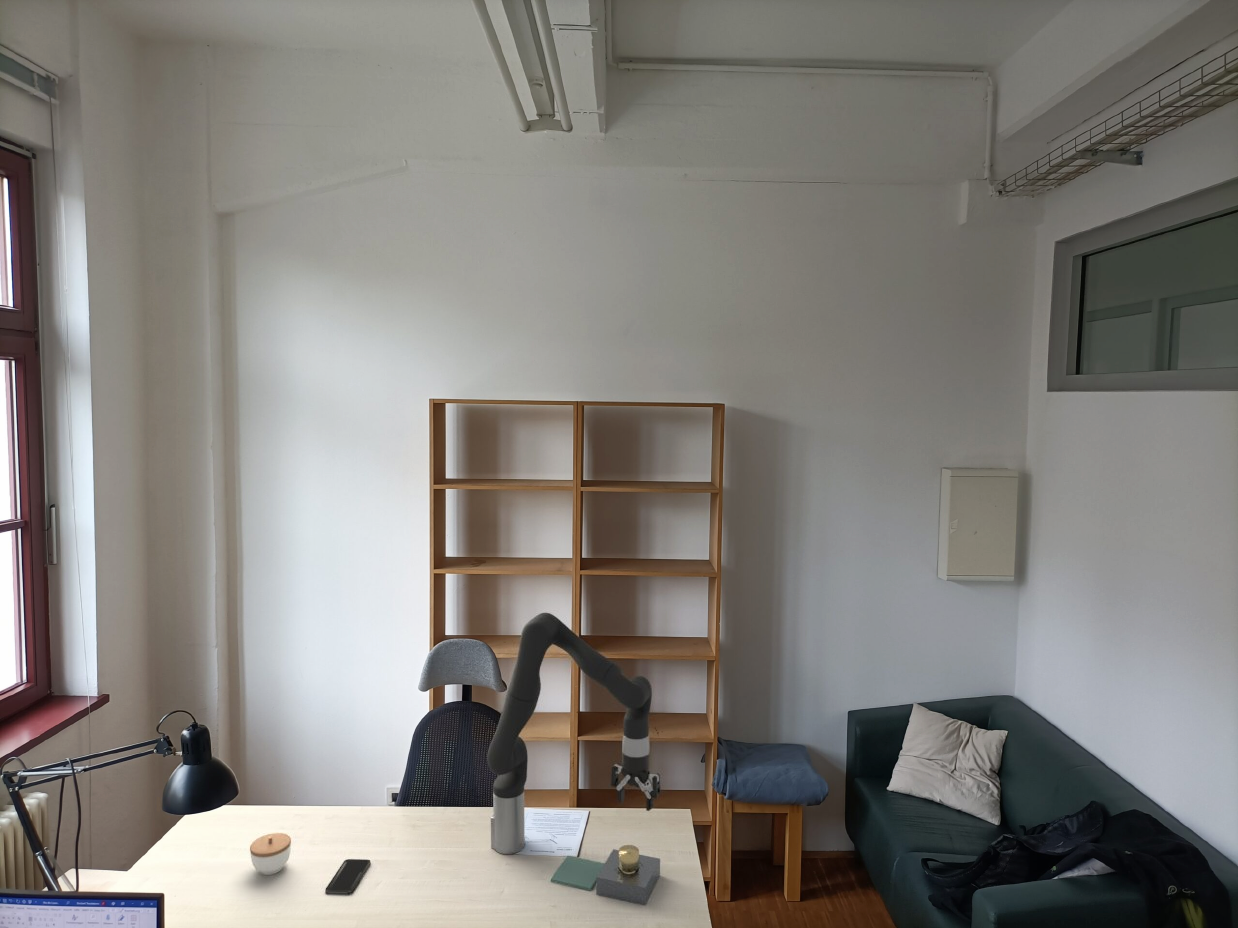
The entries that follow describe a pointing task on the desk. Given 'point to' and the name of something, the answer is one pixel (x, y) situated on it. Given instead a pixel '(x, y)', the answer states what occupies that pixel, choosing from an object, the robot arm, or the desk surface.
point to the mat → (577, 873)
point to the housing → (628, 879)
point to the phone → (348, 877)
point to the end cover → (628, 859)
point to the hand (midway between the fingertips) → (635, 805)
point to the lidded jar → (270, 852)
